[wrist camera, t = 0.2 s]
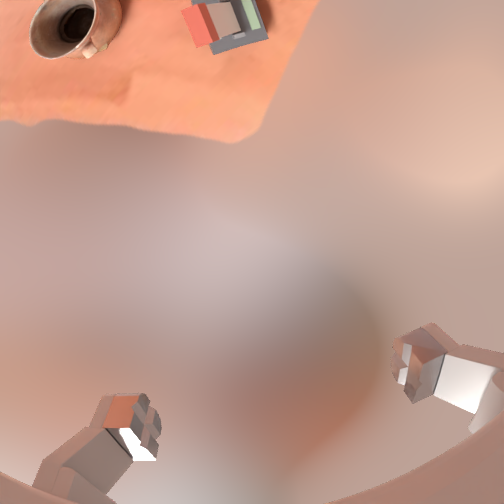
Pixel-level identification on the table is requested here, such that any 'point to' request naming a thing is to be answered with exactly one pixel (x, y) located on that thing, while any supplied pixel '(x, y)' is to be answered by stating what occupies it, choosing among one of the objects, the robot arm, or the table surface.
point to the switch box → (247, 21)
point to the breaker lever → (210, 22)
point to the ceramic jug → (74, 27)
